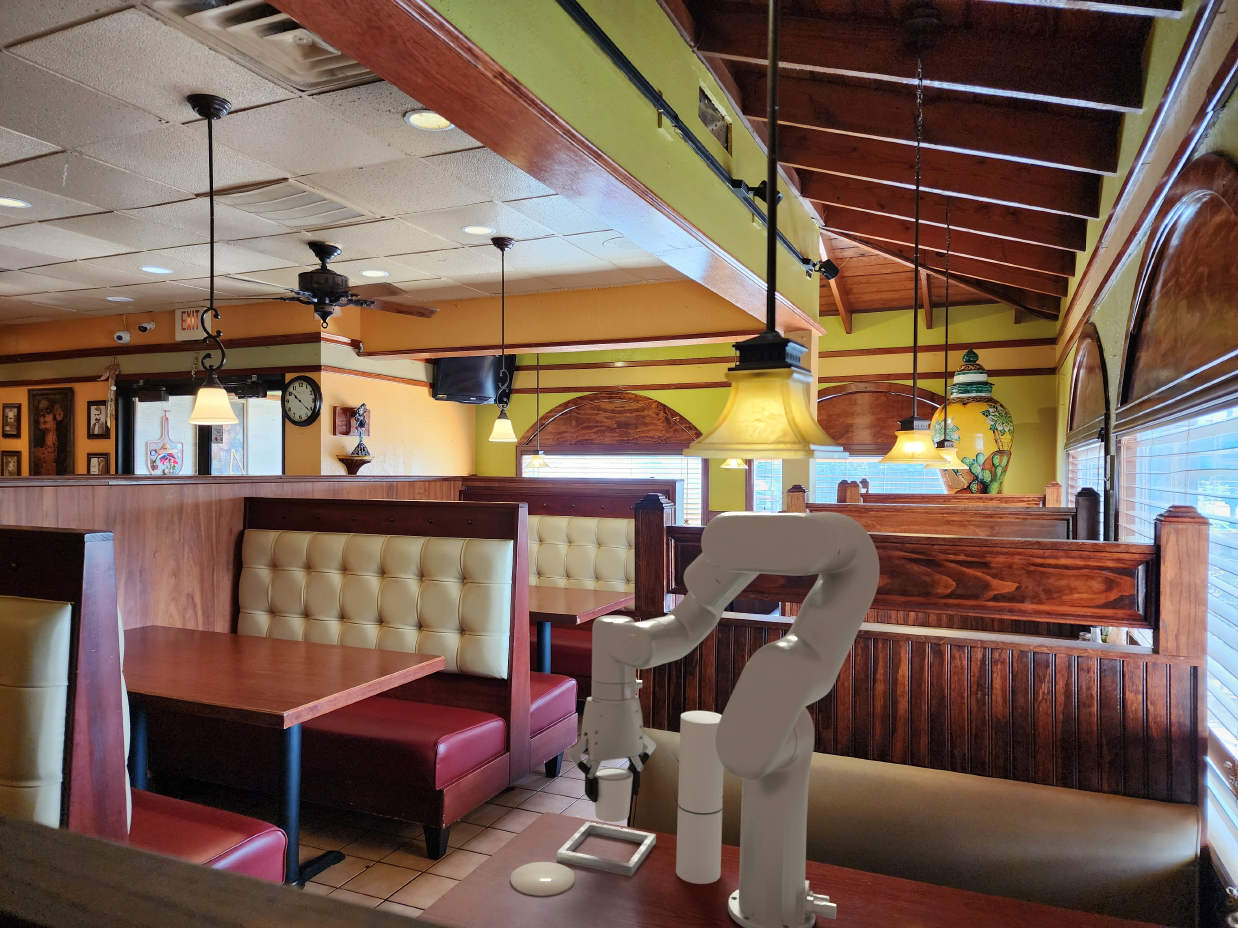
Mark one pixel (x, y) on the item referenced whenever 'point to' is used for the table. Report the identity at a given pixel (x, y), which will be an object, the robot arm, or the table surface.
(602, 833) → the holder collar
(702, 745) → the cylindrical container
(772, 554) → the robot arm
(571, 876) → the cream flat disc
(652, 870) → the table surface
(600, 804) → the white cup
